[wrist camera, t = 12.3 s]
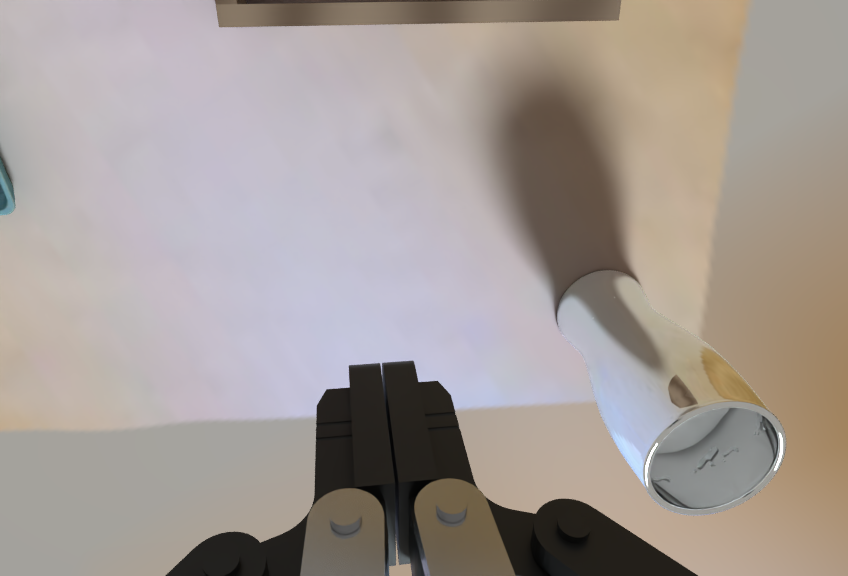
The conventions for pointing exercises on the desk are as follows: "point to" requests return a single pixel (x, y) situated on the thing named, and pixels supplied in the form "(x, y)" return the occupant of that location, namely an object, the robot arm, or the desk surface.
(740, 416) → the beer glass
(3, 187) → the shallow long dish
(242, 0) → the walnut frame
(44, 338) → the desk surface
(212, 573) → the robot arm
